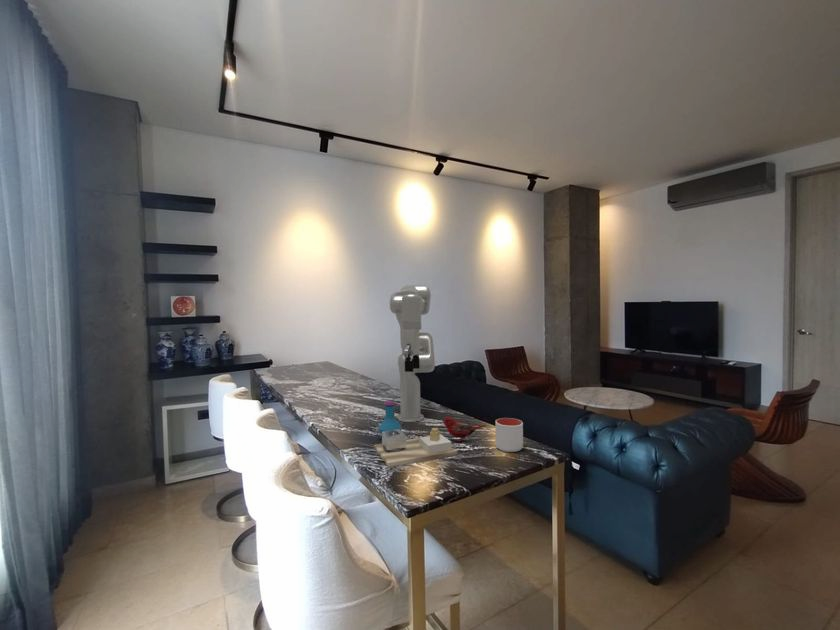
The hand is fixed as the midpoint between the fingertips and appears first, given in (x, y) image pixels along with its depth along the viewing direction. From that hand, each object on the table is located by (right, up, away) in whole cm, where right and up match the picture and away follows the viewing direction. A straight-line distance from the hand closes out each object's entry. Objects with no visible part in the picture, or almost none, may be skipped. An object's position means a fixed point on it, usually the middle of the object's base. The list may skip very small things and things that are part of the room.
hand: (412, 369), depth 148 cm
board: (+1, -29, -8) cm, 30 cm away
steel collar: (-7, -27, -8) cm, 29 cm away
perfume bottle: (-9, -29, +7) cm, 31 cm away
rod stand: (-7, -28, -8) cm, 30 cm away
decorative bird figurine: (+21, -29, +2) cm, 36 cm away
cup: (+37, -29, -5) cm, 47 cm away
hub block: (+9, -28, -8) cm, 30 cm away
